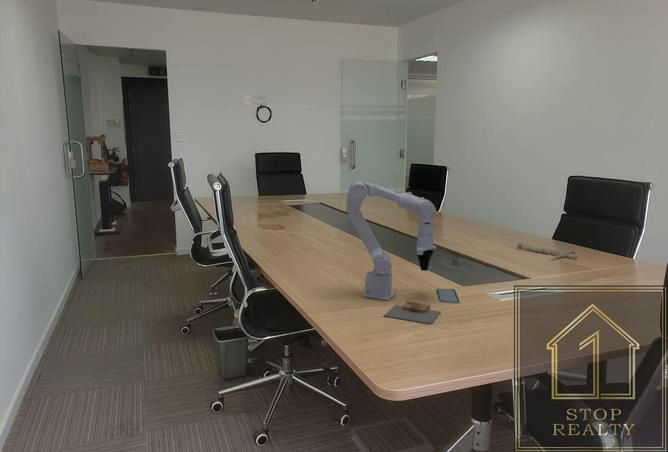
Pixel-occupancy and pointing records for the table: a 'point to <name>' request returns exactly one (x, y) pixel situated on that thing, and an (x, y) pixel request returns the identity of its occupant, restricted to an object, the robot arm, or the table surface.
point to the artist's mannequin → (549, 251)
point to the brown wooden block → (416, 307)
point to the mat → (412, 315)
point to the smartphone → (447, 296)
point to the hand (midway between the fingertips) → (424, 270)
